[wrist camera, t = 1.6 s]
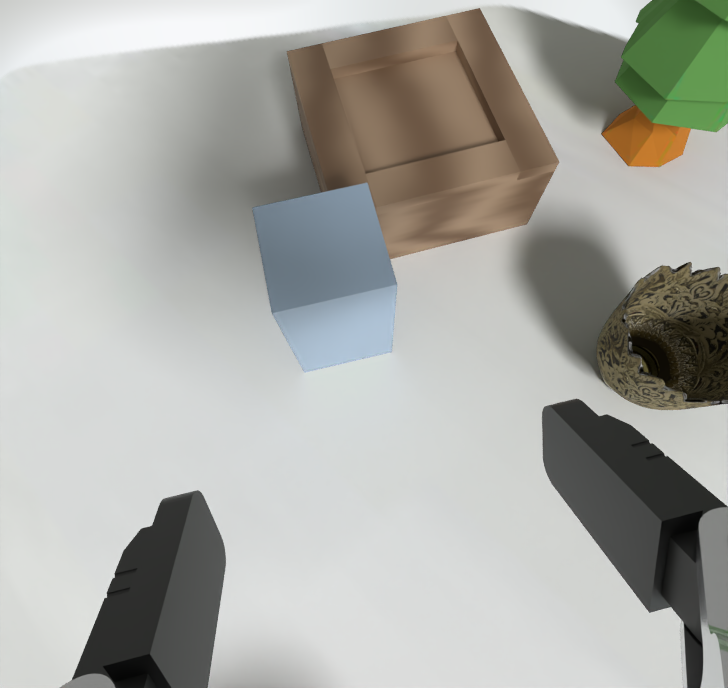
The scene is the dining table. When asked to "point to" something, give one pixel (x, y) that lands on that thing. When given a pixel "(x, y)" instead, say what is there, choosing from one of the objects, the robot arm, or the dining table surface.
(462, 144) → the square wooden tray
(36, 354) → the dining table surface
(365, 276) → the blue-grey square-topped block
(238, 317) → the dining table surface
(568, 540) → the dining table surface
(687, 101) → the decorative tree
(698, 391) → the cup
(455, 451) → the dining table surface
